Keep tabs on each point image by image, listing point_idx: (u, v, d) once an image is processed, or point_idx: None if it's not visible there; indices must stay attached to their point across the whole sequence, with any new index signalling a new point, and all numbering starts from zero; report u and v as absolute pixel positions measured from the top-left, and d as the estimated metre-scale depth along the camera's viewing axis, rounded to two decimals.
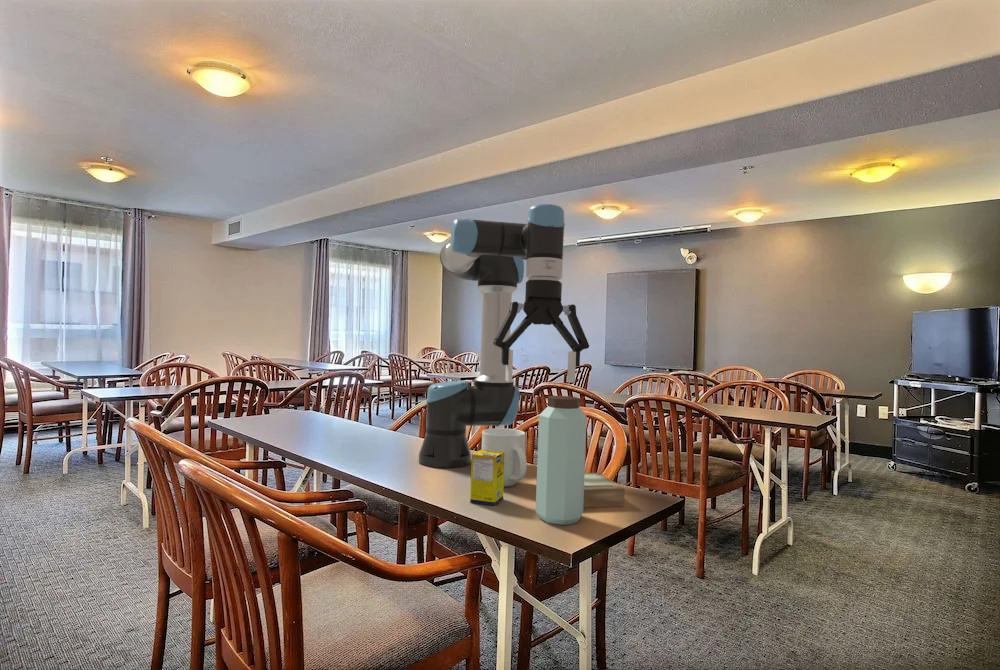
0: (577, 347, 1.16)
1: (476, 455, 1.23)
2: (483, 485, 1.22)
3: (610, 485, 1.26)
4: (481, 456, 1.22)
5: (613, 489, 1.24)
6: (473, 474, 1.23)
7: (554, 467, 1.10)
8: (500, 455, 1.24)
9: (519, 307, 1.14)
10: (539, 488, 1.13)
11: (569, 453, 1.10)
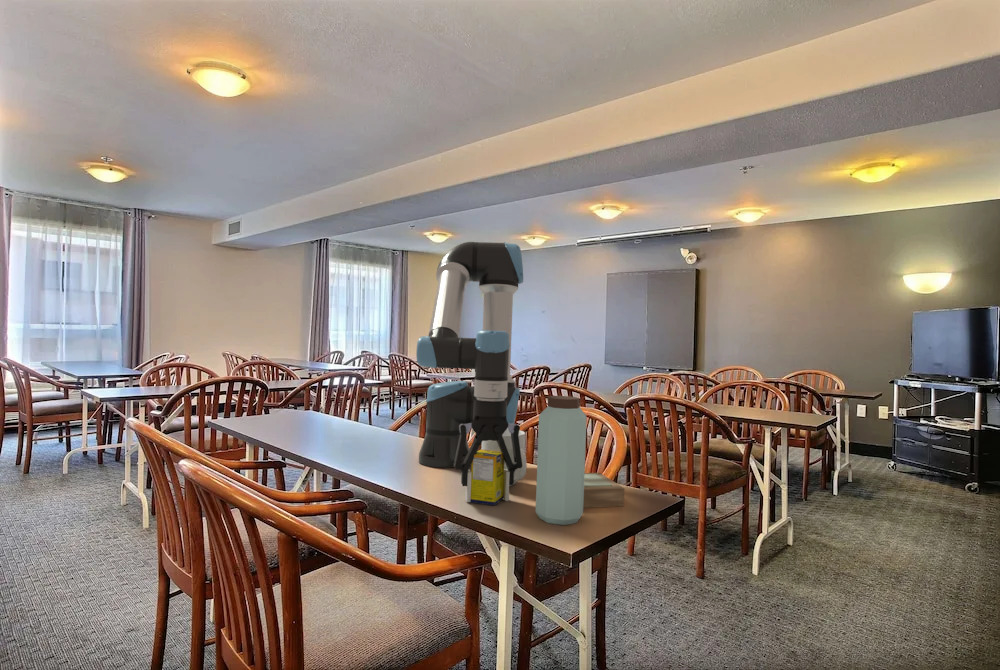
0: (511, 467, 1.25)
1: (476, 455, 1.23)
2: (483, 485, 1.22)
3: (610, 485, 1.26)
4: (481, 456, 1.22)
5: (613, 489, 1.24)
6: (473, 474, 1.23)
7: (554, 467, 1.10)
8: (500, 455, 1.24)
9: (467, 428, 1.23)
10: (539, 488, 1.13)
11: (569, 453, 1.10)
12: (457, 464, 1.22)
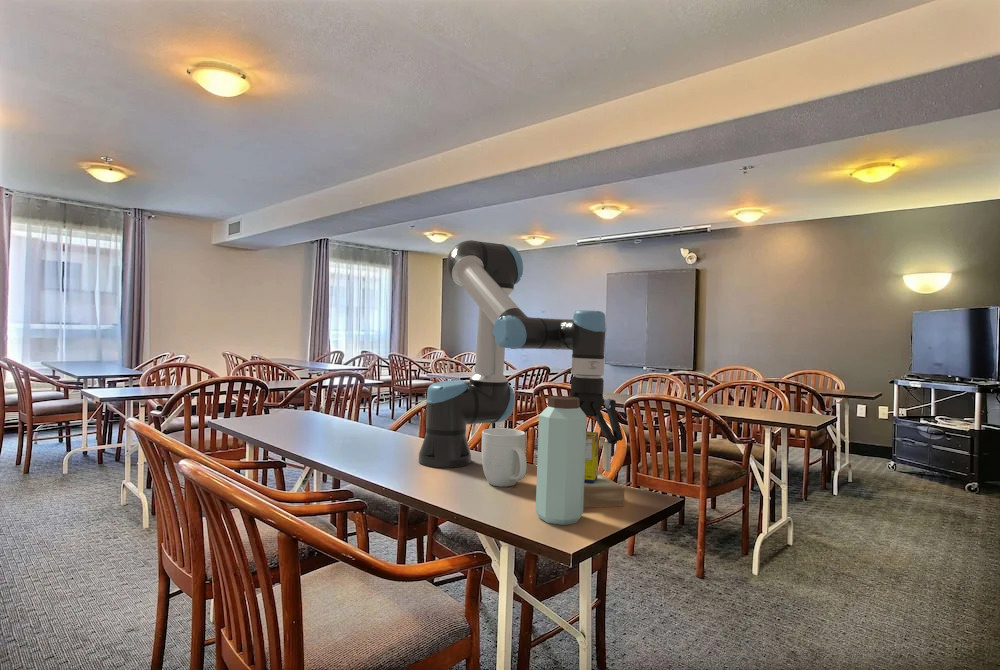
0: (612, 439, 1.30)
1: None
2: None
3: (610, 485, 1.26)
4: None
5: (613, 489, 1.24)
6: None
7: (554, 467, 1.10)
8: (596, 435, 1.29)
9: None
10: (539, 488, 1.13)
11: (569, 453, 1.10)
12: None
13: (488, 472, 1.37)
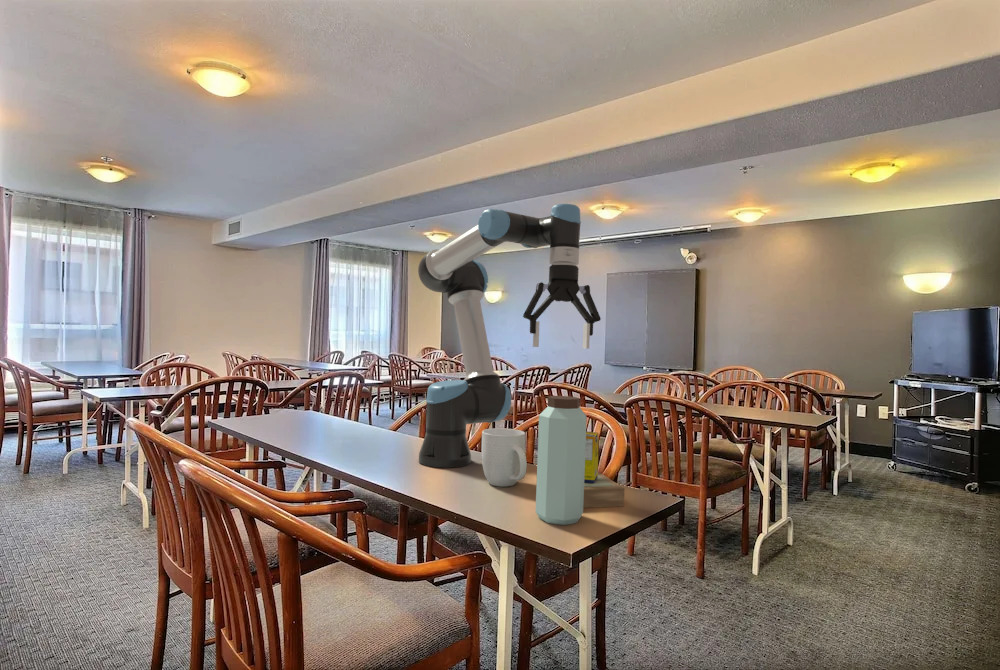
0: (591, 319, 1.43)
1: None
2: None
3: (610, 485, 1.26)
4: None
5: (613, 489, 1.24)
6: None
7: (554, 467, 1.10)
8: (597, 435, 1.29)
9: (544, 287, 1.41)
10: (539, 488, 1.13)
11: (569, 453, 1.10)
12: (528, 313, 1.40)
13: (488, 472, 1.37)
